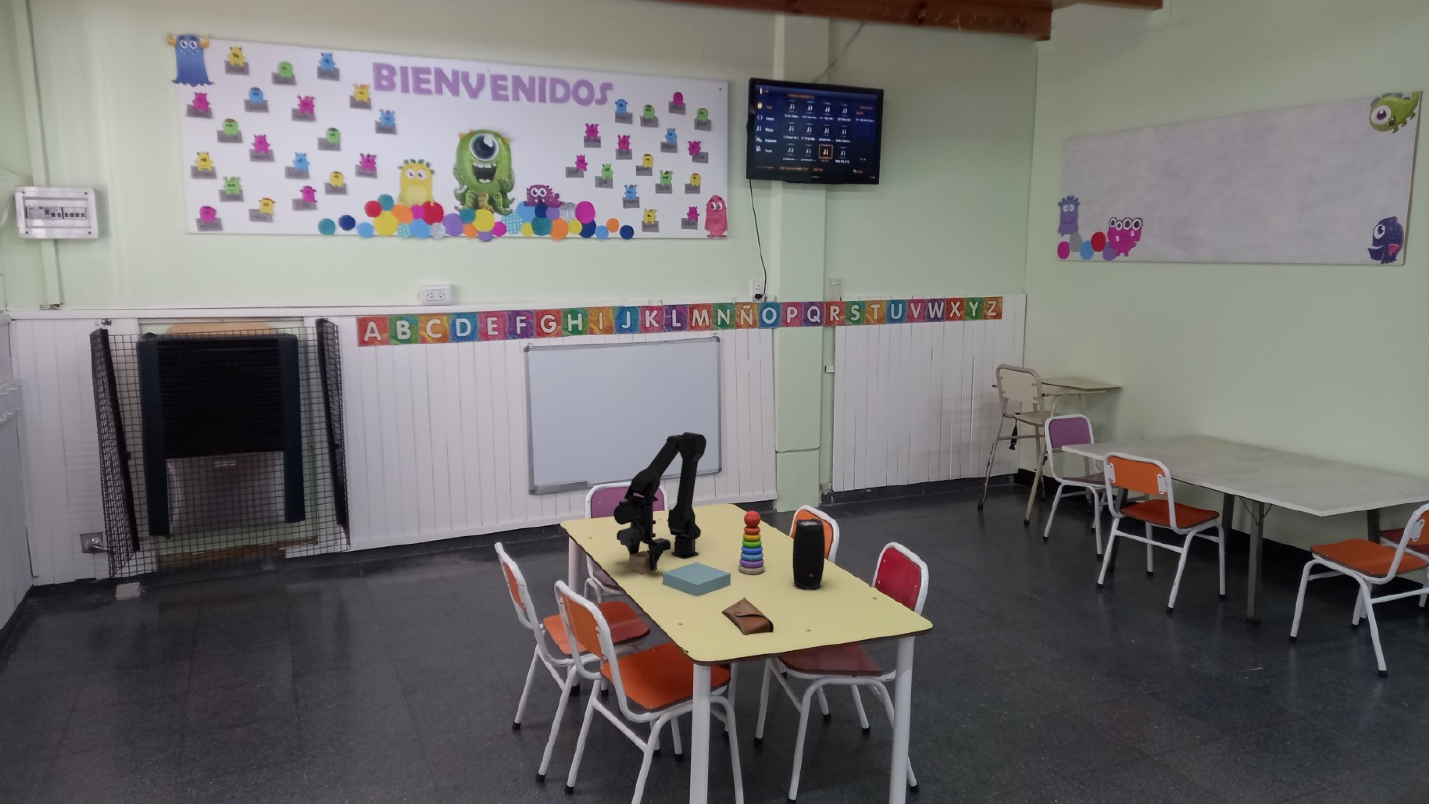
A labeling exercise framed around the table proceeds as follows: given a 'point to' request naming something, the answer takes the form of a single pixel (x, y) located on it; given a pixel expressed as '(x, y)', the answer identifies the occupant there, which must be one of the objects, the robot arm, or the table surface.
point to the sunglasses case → (748, 618)
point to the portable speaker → (808, 553)
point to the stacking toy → (751, 545)
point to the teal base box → (697, 579)
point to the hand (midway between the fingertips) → (643, 567)
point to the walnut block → (640, 563)
